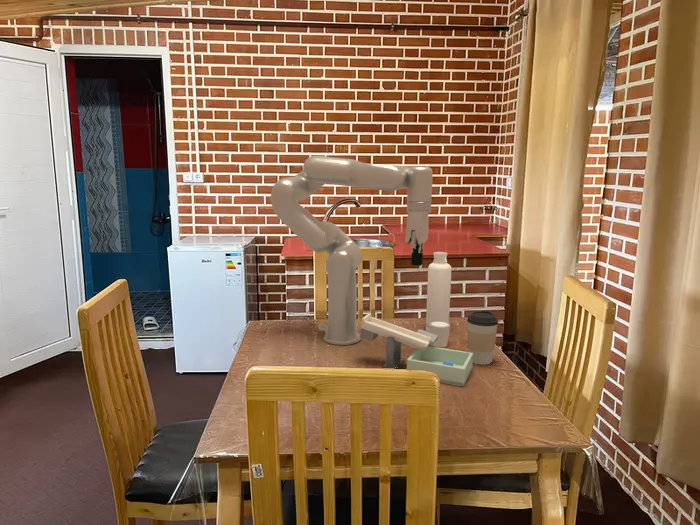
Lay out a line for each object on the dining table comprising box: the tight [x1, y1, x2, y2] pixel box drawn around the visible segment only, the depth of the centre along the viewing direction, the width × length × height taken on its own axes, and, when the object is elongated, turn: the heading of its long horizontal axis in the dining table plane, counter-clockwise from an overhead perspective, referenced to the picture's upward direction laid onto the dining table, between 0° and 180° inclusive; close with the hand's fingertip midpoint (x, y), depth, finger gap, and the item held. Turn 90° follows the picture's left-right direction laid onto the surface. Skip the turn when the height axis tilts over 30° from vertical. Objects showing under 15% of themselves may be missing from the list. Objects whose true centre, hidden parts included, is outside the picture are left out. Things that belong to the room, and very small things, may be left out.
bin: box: [406, 345, 473, 387], centre depth 148 cm, size 16×13×5 cm
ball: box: [443, 360, 453, 366], centre depth 147 cm, size 3×3×3 cm
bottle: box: [425, 251, 452, 333], centre depth 183 cm, size 8×8×28 cm
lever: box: [359, 313, 438, 351], centre depth 155 cm, size 21×12×6 cm, turn 67°
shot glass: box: [429, 321, 451, 348], centre depth 171 cm, size 7×7×7 cm
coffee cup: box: [467, 310, 499, 366], centre depth 156 cm, size 9×9×15 cm
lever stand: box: [382, 337, 405, 370], centre depth 153 cm, size 4×8×10 cm, turn 157°
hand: (416, 264), depth 164 cm, fingers closed
